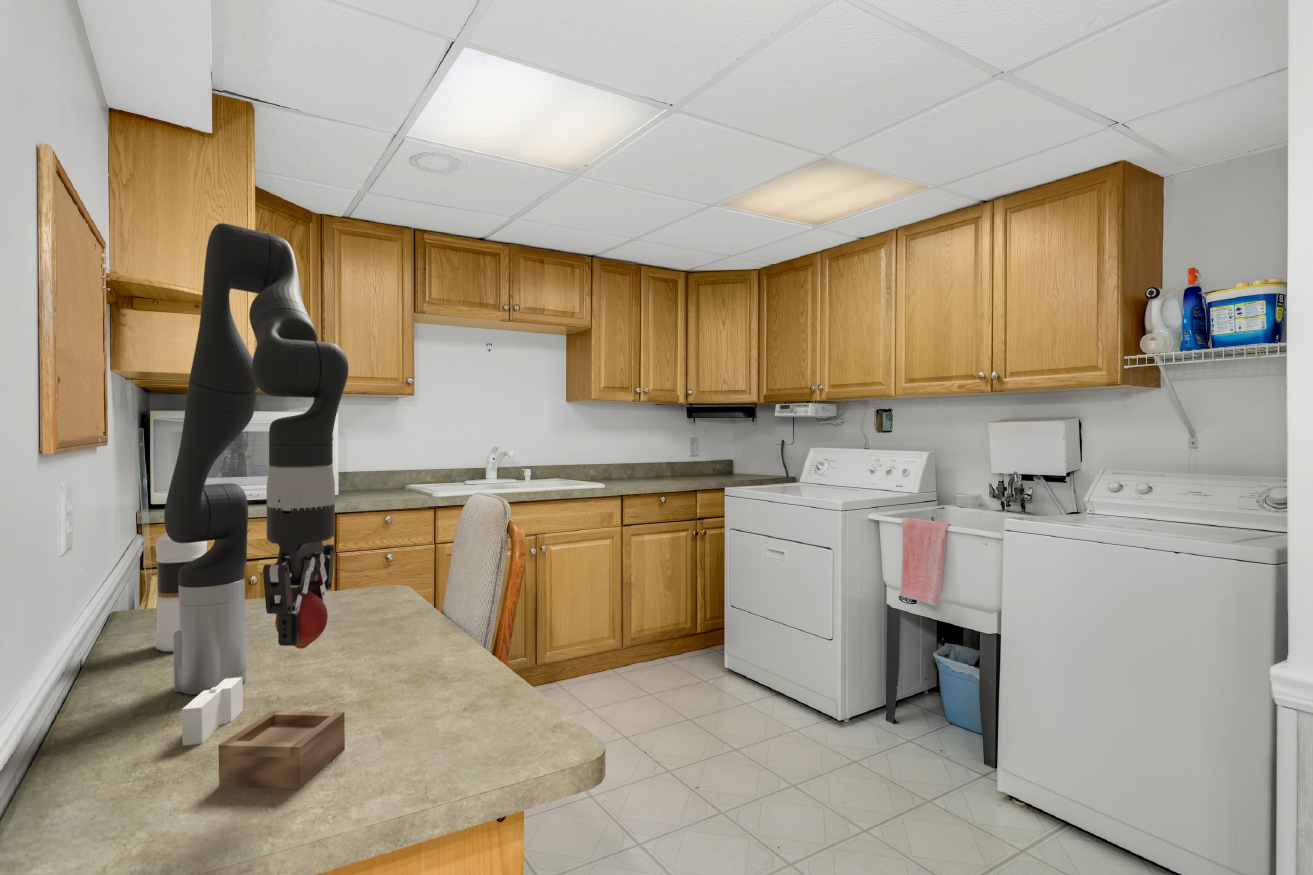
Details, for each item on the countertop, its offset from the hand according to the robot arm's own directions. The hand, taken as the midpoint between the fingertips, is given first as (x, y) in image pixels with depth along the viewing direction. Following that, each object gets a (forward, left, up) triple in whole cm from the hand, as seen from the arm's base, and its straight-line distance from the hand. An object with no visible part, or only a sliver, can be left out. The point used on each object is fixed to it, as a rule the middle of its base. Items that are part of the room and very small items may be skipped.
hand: (301, 635), depth 86 cm
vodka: (-47, +51, -17) cm, 71 cm away
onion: (0, 0, -2) cm, 2 cm away
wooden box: (-2, 0, -17) cm, 17 cm away
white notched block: (-18, +13, -17) cm, 28 cm away
